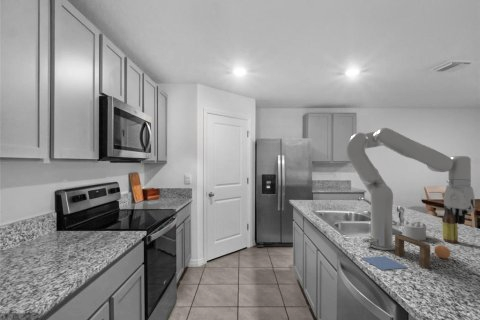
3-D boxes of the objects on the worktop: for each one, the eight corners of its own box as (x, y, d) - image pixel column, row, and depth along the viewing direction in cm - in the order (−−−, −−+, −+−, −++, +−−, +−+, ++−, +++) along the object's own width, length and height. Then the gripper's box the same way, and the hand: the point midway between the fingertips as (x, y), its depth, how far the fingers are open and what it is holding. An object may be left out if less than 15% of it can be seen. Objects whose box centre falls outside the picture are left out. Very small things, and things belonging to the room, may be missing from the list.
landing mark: (381, 270, 96) (381, 269, 96) (361, 258, 107) (361, 257, 107) (407, 268, 98) (407, 267, 98) (384, 256, 110) (384, 256, 110)
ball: (443, 261, 105) (443, 248, 105) (431, 256, 110) (431, 244, 110) (453, 260, 106) (453, 247, 106) (441, 255, 111) (441, 243, 111)
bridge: (424, 268, 98) (424, 245, 98) (395, 254, 112) (395, 234, 112) (430, 267, 98) (430, 244, 98) (400, 254, 112) (400, 234, 113)
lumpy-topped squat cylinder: (425, 236, 140) (425, 221, 140) (426, 242, 130) (426, 226, 130) (404, 232, 146) (404, 218, 146) (402, 238, 136) (402, 223, 136)
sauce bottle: (452, 239, 133) (451, 203, 133) (461, 243, 127) (461, 205, 127) (439, 239, 134) (439, 203, 134) (447, 243, 127) (447, 205, 128)
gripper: (436, 181, 117) (436, 219, 116) (471, 184, 102) (471, 228, 102) (449, 181, 118) (449, 219, 118) (485, 184, 103) (485, 227, 103)
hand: (459, 223), depth 110 cm, fingers closed
